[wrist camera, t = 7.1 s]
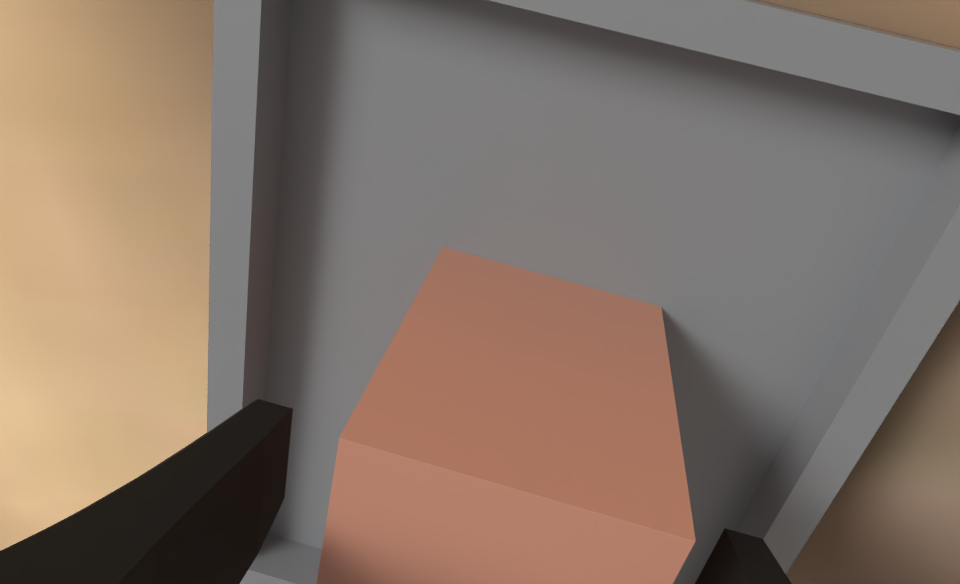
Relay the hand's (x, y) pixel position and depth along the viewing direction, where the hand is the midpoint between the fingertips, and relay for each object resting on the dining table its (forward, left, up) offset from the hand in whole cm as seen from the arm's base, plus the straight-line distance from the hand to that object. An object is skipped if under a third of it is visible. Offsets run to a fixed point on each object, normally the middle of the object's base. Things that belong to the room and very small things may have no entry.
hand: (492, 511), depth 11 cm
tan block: (0, 0, -4) cm, 4 cm away
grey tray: (0, 0, -5) cm, 5 cm away
